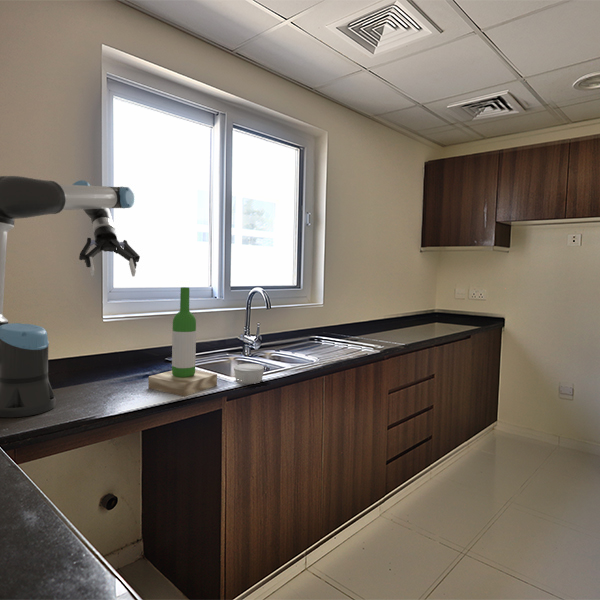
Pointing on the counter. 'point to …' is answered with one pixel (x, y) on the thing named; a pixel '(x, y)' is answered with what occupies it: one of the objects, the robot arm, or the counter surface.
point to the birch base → (182, 382)
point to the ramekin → (249, 373)
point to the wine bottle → (184, 339)
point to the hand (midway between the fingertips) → (114, 273)
